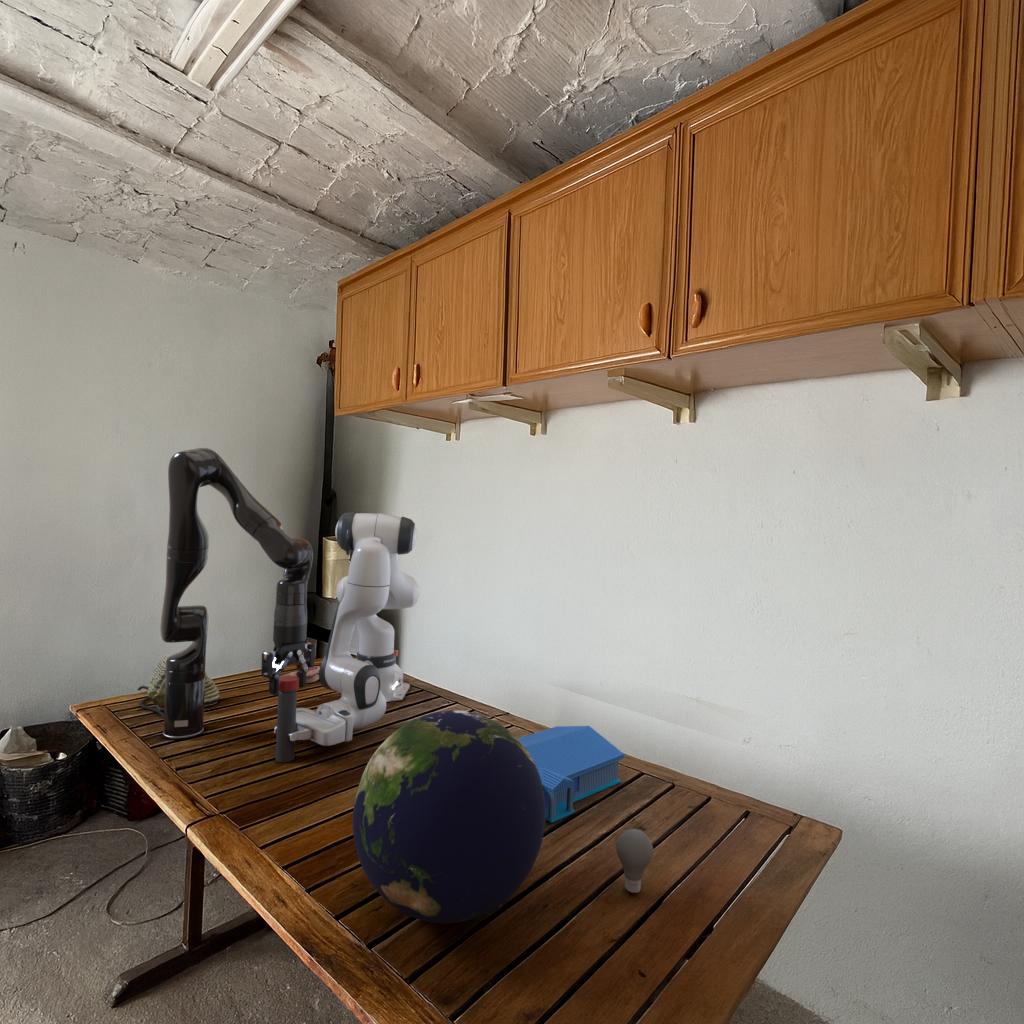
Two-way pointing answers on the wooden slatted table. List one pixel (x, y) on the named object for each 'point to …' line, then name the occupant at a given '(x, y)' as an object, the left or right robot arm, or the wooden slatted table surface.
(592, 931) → the wooden slatted table surface
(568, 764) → the model building
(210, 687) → the fossil
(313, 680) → the anatomical model
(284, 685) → the lid
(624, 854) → the light bulb
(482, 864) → the globe
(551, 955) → the wooden slatted table surface
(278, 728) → the dark gray cylinder
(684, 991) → the wooden slatted table surface
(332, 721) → the right robot arm
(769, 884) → the wooden slatted table surface
